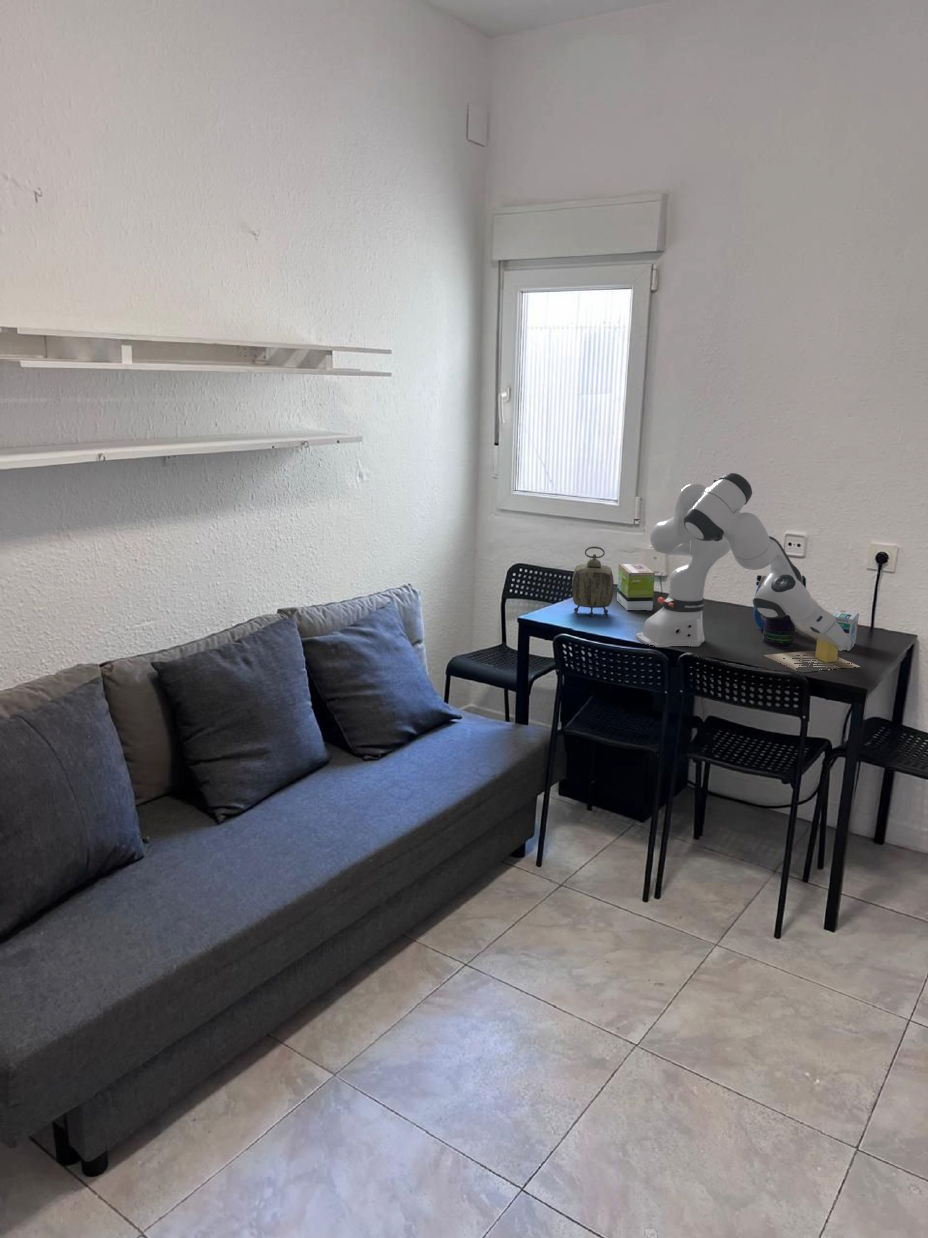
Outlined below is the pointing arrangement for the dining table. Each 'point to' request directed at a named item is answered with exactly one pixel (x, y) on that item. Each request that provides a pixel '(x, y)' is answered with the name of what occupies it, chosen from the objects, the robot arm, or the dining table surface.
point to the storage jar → (779, 632)
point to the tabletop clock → (592, 584)
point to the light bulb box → (848, 626)
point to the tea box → (635, 586)
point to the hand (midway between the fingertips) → (830, 644)
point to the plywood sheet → (790, 661)
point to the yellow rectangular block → (826, 651)
